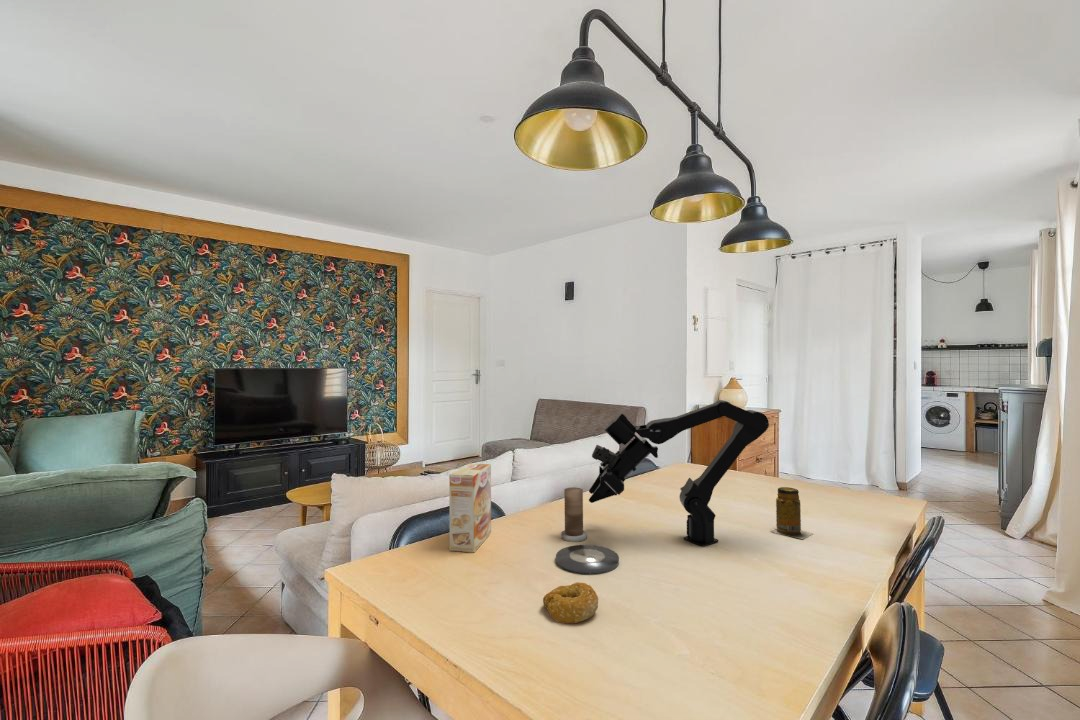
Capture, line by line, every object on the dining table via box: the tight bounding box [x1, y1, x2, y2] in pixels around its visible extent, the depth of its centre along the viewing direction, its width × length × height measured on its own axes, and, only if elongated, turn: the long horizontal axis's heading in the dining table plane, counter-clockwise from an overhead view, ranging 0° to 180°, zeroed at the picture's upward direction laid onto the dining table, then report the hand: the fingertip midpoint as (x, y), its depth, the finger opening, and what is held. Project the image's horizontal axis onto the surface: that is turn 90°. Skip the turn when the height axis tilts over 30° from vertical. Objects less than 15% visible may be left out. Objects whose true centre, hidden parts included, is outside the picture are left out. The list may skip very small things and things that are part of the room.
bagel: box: [542, 582, 599, 624], centre depth 93 cm, size 10×11×5 cm
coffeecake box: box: [448, 463, 492, 553], centre depth 131 cm, size 15×7×20 cm, turn 168°
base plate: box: [555, 544, 620, 575], centre depth 117 cm, size 15×15×1 cm
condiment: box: [770, 486, 814, 540], centre depth 135 cm, size 7×8×12 cm
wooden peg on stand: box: [560, 486, 588, 543], centre depth 133 cm, size 7×7×13 cm
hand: (589, 496), depth 132 cm, fingers open, 9 cm apart
